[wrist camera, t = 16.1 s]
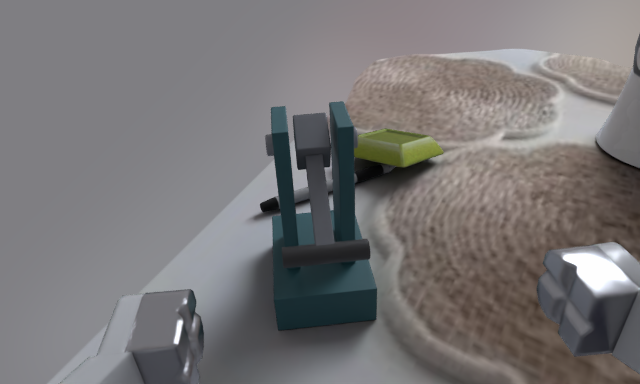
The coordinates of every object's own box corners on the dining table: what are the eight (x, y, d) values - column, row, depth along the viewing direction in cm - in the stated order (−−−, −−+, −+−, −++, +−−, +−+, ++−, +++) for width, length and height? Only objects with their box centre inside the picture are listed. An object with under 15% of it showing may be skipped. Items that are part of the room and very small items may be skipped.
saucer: (382, 125, 57) (381, 141, 58) (337, 135, 51) (337, 154, 52) (446, 135, 52) (445, 153, 52) (404, 148, 45) (403, 168, 46)
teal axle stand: (376, 320, 33) (379, 144, 26) (278, 331, 32) (253, 155, 25) (353, 236, 41) (351, 86, 34) (275, 243, 41) (256, 94, 34)
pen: (258, 207, 46) (259, 198, 45) (394, 163, 52) (396, 155, 51) (264, 217, 45) (264, 208, 44) (400, 171, 51) (403, 163, 50)
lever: (368, 266, 27) (372, 250, 25) (284, 275, 27) (281, 259, 25) (345, 132, 32) (346, 110, 30) (274, 138, 32) (271, 116, 30)
